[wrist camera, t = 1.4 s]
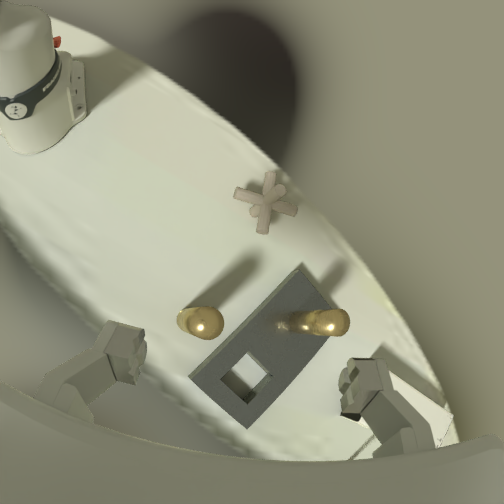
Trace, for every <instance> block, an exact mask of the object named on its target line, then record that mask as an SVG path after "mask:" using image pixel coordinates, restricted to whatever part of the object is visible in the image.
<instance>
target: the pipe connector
mask: <svg viewBox="0 0 504 504" xmlns="http://www.w3.org/2000/svg"><path fill="white" fill-rule="evenodd" d="M276 175H277V174H276V173H275V172H273V171H267V172H266V173H265V179H264V185H263V192H262V194H259V193H256V192H253V191H249V190H246V189H243V188H240V187H236V189H235V192H234V196H233V198H234V199H237V200H241V201H244V202H247V203H251V204H254V206H252V207H251V208H250V210H249V213H250V215H251V216H252V217H258V216H259V217H258V223H257V229H256V232H257V233H259V234H268V232H269V225H270V218H271V211H272V210H274V211H277V212H280V213H284V214H287V215H290V216H295V215H296V213H297V210H298V207H297V206H296V205H293V204H290V203H287V202H284V201H281V200H279V199H280V198H281V197H283V196H284V195H285V194H286V188H285V186H284V185H282V184H277V185H276V186H275V183H276Z"/></svg>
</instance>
